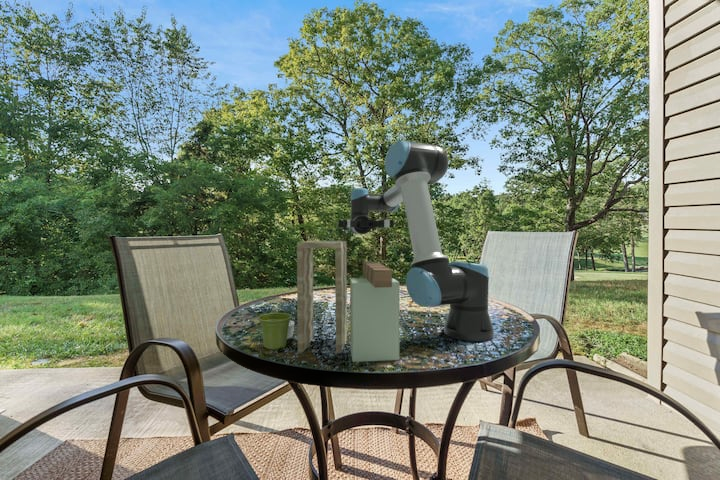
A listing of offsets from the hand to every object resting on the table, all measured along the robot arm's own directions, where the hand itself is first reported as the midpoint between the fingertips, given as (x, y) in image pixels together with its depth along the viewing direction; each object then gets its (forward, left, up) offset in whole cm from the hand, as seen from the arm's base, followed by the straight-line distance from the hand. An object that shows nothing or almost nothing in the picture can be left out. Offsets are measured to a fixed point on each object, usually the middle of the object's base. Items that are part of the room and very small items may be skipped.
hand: (368, 223), depth 121 cm
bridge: (+7, +22, -36) cm, 43 cm away
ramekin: (+23, +19, -36) cm, 47 cm away
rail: (-10, +26, -16) cm, 32 cm away
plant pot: (+19, +28, -36) cm, 50 cm away
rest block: (-10, +26, -36) cm, 45 cm away
